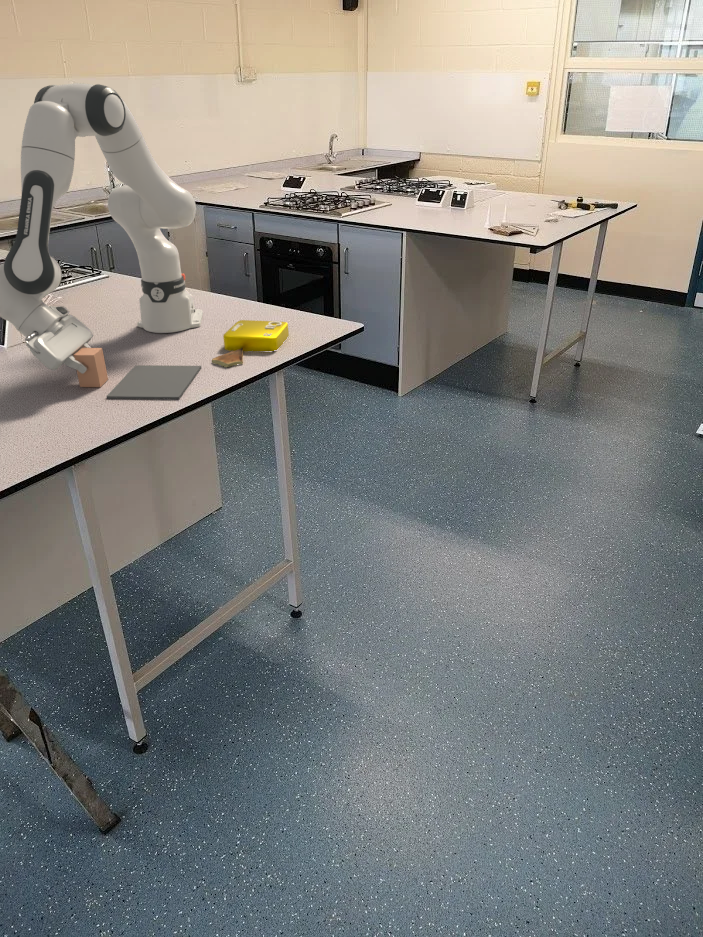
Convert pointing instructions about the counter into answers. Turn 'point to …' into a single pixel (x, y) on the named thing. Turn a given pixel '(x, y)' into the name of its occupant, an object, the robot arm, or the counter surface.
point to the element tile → (256, 335)
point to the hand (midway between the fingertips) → (91, 365)
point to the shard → (229, 358)
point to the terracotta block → (92, 367)
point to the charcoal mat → (155, 382)
